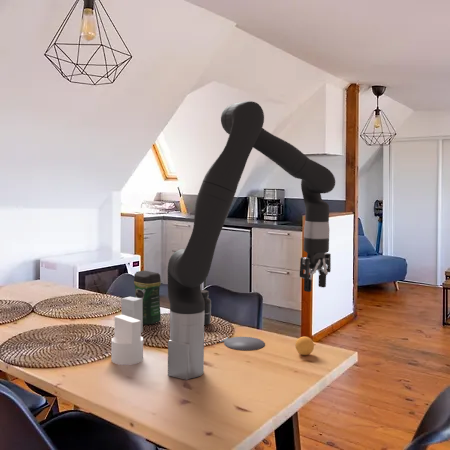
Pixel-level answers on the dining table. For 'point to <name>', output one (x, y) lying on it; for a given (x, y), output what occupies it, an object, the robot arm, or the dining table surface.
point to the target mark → (244, 343)
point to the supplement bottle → (206, 307)
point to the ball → (304, 345)
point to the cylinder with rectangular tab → (127, 341)
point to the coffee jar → (148, 295)
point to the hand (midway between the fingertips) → (315, 289)
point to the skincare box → (133, 308)
